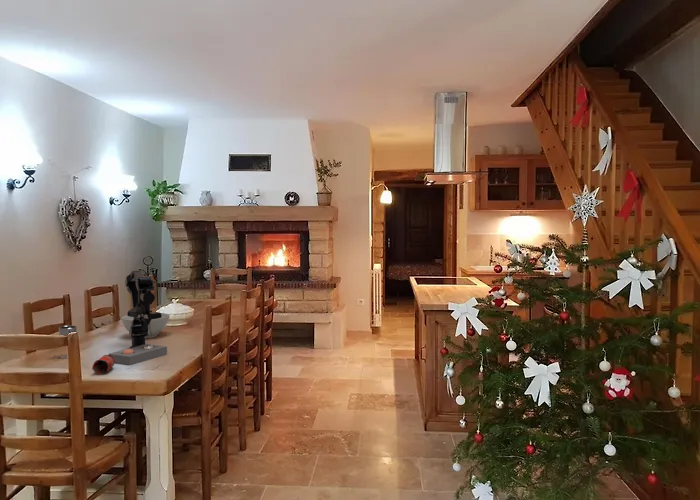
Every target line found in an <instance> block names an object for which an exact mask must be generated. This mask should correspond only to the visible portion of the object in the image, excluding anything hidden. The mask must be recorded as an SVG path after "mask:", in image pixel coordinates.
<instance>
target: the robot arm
mask: <svg viewBox="0 0 700 500" xmlns="http://www.w3.org/2000/svg"><path fill="white" fill-rule="evenodd" d="M124 286H125V287H126V291H127V292H128V293H129V294H130V299H131V309H129V310H128V311H127V315H128V316H130V317H133V321H132V323H131V326H130V330H129V331H128V334H129V335H128V336H129V338H131V346H129V348H133V347H137V346H140V345H144V344H146V338H145V336H147V335H148V325H149V323H150V321H151V320H152V319H158V318H162V314H161V313H162V312H159V311H153V310H152V309H151V305H153V302H154V301H155V300H156V296H155V294H154V293H153V292H152V291H154V290H155V283H154V279H153V278H152V277H151V276H149V275H145V274H143V273H142V271H141V270H132V271H131V272H130V273H129V275H127V276H126V277H125V281H124ZM146 314H147V315H146Z"/></svg>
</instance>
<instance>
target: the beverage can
mask: <svg viewBox="0 0 700 500" xmlns="http://www.w3.org/2000/svg"><path fill="white" fill-rule="evenodd" d="M115 364H116V363H115V360H114V358H113V357H112V356H111V355H109V354H104V355H102V356H101V357H99V359H96V360H95V361H94V362H93V364H92V368H91V370H92V371H93V372H94V373H95V374H97V375H99V376H100V375H101V373H103V372H104V373H103V375H106V374H107V372H109V371H110V370H111V369H112V368H113V367H114V366H115ZM105 370H106V371H105Z"/></svg>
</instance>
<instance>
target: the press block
mask: <svg viewBox="0 0 700 500" xmlns="http://www.w3.org/2000/svg"><path fill="white" fill-rule="evenodd" d="M148 345H152V346H153V348H150V349H145V348H144V346H148ZM126 349H127V348H125V349H122V350H118V351H115V352H111V353H108V355H111V356H112V357H113V358H114V360H115V364H120V365H127V366H132V365H136V364H138V363H143V362H146V361H148V360H152V359H154V358H155V359H156V358H159V357H162V356H165V355H168V346H166V345H158V344H149V343H145V344H144V345H140V346H137V347H133V348H130V347H128V349H133V353H131V354H123V350H126Z"/></svg>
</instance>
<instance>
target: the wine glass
mask: <svg viewBox="0 0 700 500" xmlns="http://www.w3.org/2000/svg"><path fill="white" fill-rule="evenodd" d="M77 330H78V327H77V325H63V326H59V327H58V334H59V336H60V335H67V334H69V333H71V332H76V334H77V333H78V332H77ZM60 359H68V358H67V354H65V355H62V356H60Z"/></svg>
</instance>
